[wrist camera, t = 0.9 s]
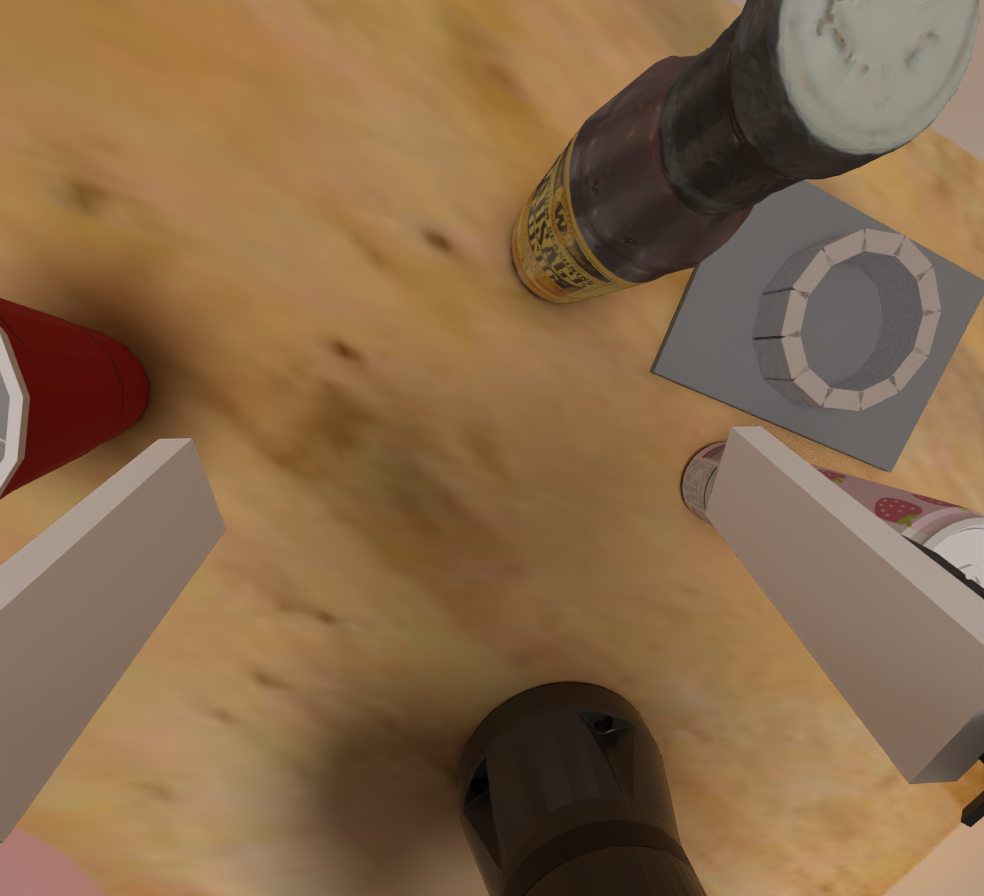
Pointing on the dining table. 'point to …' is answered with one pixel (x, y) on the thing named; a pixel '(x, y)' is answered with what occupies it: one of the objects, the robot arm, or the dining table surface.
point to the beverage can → (874, 511)
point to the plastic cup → (60, 393)
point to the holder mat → (807, 326)
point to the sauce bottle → (736, 135)
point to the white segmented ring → (901, 335)
